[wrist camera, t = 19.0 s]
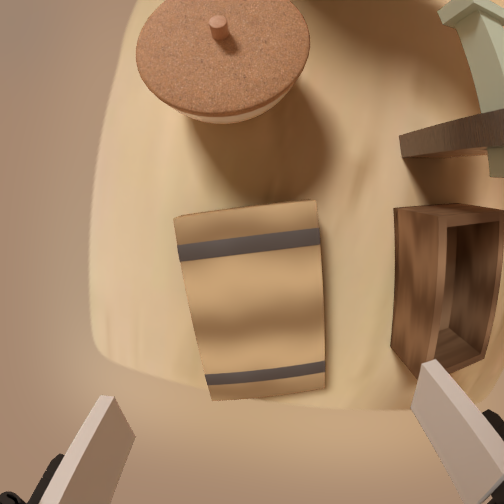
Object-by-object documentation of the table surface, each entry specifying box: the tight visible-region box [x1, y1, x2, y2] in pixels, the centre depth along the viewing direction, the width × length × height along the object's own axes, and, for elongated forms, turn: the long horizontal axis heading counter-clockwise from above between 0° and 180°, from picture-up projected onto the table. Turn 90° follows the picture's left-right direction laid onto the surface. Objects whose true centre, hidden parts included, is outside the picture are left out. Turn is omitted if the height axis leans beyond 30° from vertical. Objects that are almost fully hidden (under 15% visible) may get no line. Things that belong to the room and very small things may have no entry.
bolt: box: [437, 0, 504, 178], centre depth 10 cm, size 12×4×4 cm, turn 7°
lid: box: [173, 199, 325, 401], centre depth 23 cm, size 16×10×4 cm, turn 7°
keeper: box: [399, 109, 504, 158], centre depth 15 cm, size 2×5×14 cm, turn 97°
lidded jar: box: [136, 0, 310, 124], centre depth 16 cm, size 11×11×9 cm
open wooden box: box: [390, 203, 504, 380], centre depth 21 cm, size 14×8×7 cm, turn 7°
